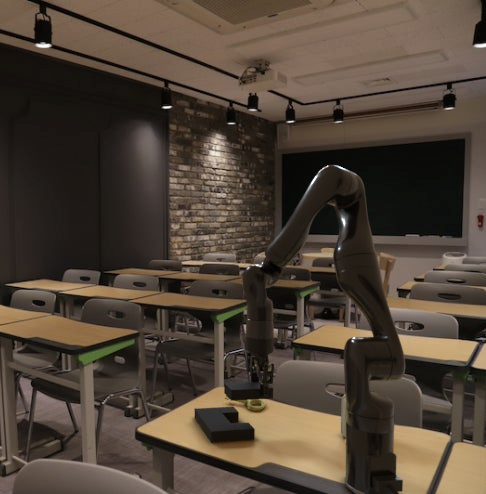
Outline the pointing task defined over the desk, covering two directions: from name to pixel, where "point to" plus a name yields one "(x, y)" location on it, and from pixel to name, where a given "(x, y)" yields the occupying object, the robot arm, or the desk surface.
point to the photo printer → (343, 416)
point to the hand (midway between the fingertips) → (259, 392)
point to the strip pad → (245, 391)
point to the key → (251, 403)
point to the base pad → (223, 424)
